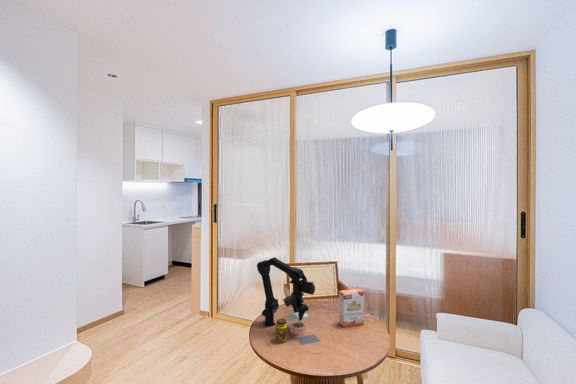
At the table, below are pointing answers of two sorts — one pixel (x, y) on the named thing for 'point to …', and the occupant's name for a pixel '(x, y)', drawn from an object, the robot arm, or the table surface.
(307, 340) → the mat
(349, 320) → the cracker box
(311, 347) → the table surface
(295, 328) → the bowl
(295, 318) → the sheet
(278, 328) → the condiment
